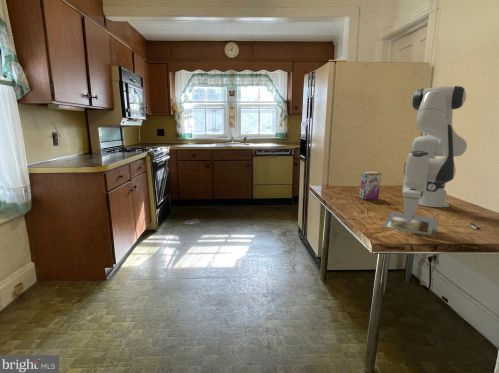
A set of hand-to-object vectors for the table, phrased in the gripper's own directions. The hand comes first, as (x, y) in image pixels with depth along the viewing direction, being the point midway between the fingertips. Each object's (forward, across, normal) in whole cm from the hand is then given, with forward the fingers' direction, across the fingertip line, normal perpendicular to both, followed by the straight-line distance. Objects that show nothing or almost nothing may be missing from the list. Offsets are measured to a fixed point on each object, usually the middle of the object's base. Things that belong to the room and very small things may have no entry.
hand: (410, 220), depth 129 cm
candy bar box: (+4, -48, -27) cm, 55 cm away
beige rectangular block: (+3, 0, 0) cm, 3 cm away
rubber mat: (+4, -8, 0) cm, 9 cm away
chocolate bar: (+5, -25, +19) cm, 31 cm away
